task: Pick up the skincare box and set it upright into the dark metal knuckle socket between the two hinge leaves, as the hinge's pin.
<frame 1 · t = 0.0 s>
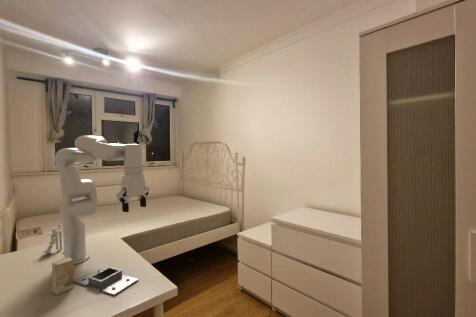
hand: (134, 209, 105), 31 cm above the table, fingers open, 9 cm apart
hinge base: (105, 281, 102), on the table
clamp: (52, 252, 134), on the table
skincare box: (63, 290, 97), on the table
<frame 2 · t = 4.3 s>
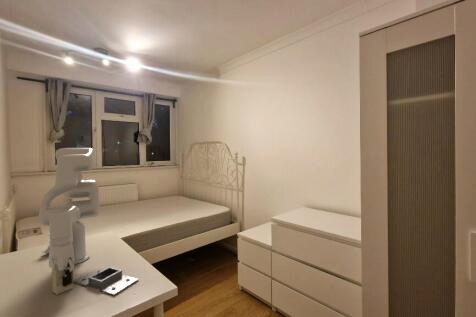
hand: (63, 282, 97), 3 cm above the table, fingers closed on skincare box, 4 cm apart
skincare box: (63, 290, 97), on the table, touching gripper
everything else where it was.
when the fingers open (5 cm above the table, at t = 9.9 s): skincare box drops 1 cm, resting on hinge base.
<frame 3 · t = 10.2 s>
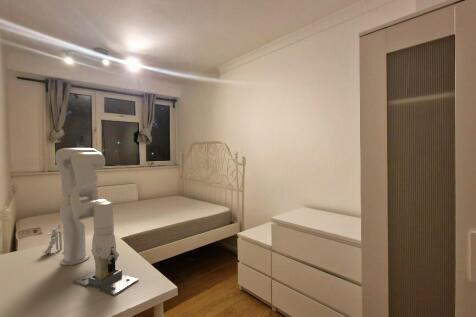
hand: (105, 269, 102), 5 cm above the table, fingers open, 7 cm apart
skincare box: (105, 280, 102), resting on hinge base
everything else where it was.
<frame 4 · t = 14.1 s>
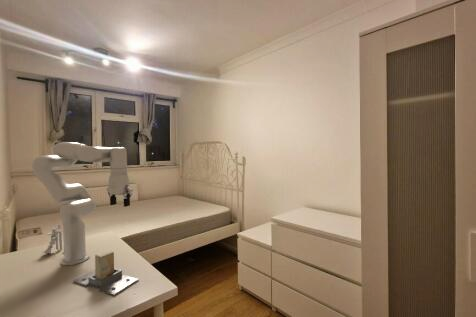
hand: (120, 205, 117), 30 cm above the table, fingers open, 9 cm apart
nothing on the table moved.
at the end: skincare box inside the target area on the hinge base (0.3 cm from its centre), point 0.2 cm above the hinge base's base; skincare box tilted 0°; the gripper is holding nothing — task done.
